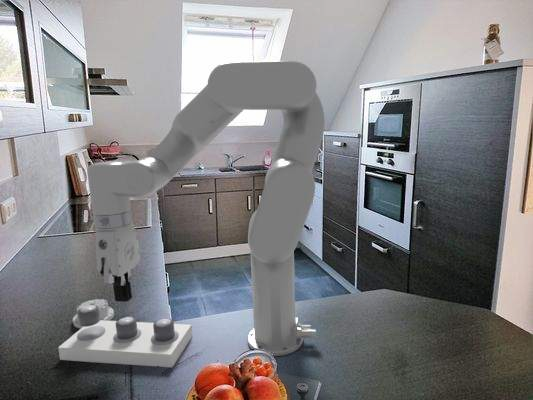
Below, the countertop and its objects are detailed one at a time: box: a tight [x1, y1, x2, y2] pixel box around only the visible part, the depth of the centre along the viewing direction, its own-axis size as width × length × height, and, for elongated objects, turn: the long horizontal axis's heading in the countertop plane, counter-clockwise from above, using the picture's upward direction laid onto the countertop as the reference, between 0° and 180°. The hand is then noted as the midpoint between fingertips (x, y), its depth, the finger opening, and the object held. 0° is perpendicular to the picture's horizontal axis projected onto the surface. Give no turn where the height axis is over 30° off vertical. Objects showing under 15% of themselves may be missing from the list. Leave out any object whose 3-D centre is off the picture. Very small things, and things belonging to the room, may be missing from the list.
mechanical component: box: [72, 298, 115, 329], centre depth 101 cm, size 10×4×10 cm
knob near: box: [153, 318, 175, 341], centre depth 85 cm, size 4×4×3 cm
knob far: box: [78, 305, 100, 327], centre depth 88 cm, size 4×4×3 cm
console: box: [58, 320, 193, 368], centre depth 87 cm, size 26×12×3 cm, turn 81°
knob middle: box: [116, 316, 138, 339], centre depth 87 cm, size 4×4×3 cm
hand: (123, 299), depth 85 cm, fingers closed
